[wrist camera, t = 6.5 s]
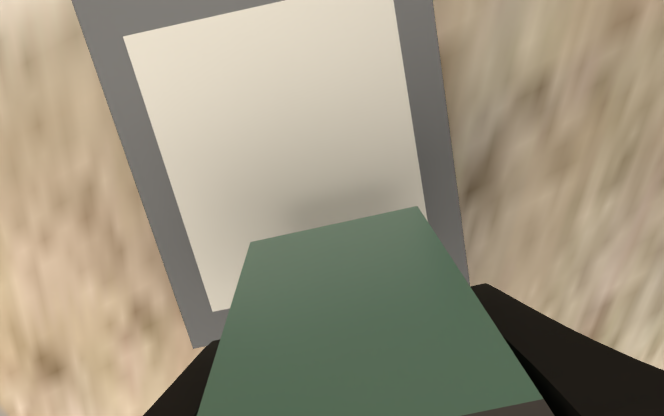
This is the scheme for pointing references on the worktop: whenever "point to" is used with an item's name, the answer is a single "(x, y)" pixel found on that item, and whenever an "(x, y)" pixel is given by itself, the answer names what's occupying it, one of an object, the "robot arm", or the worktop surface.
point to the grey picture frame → (272, 126)
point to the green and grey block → (362, 330)
